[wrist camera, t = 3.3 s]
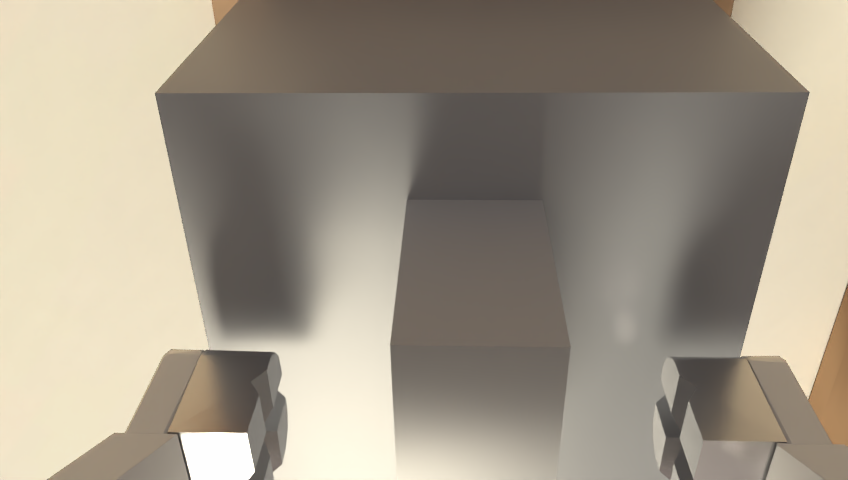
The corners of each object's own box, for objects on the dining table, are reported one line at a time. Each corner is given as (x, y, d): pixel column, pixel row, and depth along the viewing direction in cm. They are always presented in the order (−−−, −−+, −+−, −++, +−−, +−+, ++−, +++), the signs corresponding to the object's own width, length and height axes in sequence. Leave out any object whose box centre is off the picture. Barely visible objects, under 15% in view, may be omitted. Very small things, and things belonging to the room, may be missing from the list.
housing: (259, -23, 15) (45, 213, 7) (684, -26, 14) (942, 218, 7) (302, 311, 19) (197, 685, 11) (630, 314, 19) (750, 701, 11)
